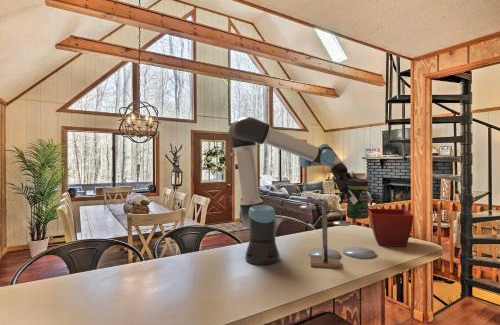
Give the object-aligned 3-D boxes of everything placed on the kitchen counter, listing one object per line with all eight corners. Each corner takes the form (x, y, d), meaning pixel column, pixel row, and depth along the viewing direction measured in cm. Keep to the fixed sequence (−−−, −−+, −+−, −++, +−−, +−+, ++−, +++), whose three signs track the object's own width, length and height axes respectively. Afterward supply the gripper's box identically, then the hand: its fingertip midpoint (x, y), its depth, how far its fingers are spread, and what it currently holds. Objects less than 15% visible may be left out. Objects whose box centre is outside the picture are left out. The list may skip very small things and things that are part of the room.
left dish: (308, 259, 125) (308, 256, 125) (308, 250, 139) (308, 247, 139) (341, 260, 122) (341, 258, 122) (338, 251, 136) (338, 249, 136)
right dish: (344, 257, 127) (344, 254, 127) (341, 248, 140) (341, 246, 140) (378, 259, 124) (378, 256, 124) (371, 250, 137) (371, 247, 137)
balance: (300, 266, 116) (299, 196, 117) (300, 260, 123) (299, 195, 124) (352, 269, 112) (351, 197, 113) (350, 263, 119) (348, 195, 120)
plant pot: (372, 246, 143) (371, 213, 143) (368, 237, 161) (367, 208, 162) (414, 249, 138) (414, 215, 138) (405, 239, 156) (404, 209, 156)
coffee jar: (356, 220, 127) (355, 179, 127) (343, 217, 134) (343, 178, 134) (372, 218, 131) (371, 178, 131) (359, 215, 138) (358, 178, 138)
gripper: (348, 172, 151) (374, 205, 137) (317, 173, 141) (341, 208, 127) (356, 162, 147) (383, 195, 132) (324, 162, 137) (350, 198, 122)
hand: (363, 201), depth 130 cm, fingers closed on coffee jar, 9 cm apart
